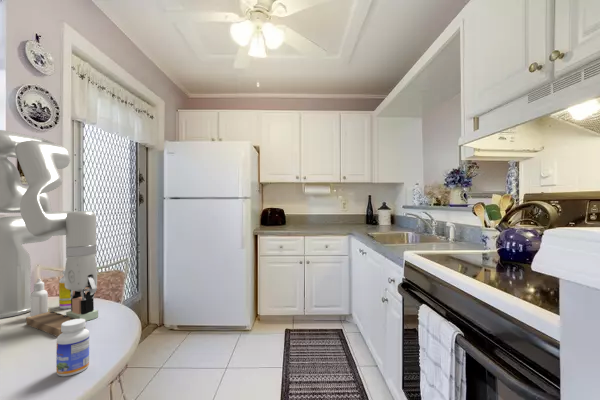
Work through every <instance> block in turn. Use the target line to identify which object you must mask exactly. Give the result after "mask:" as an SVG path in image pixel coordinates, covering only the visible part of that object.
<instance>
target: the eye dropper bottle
mask: <svg viewBox="0 0 600 400" xmlns="http://www.w3.org/2000/svg"><path fill="white" fill-rule="evenodd" d="M46 312H49V294H48V291H47V290H46V289H45V281H44V282H43V281H42V279H41V278H40V277H39V278H37V281H36V282H35V283H33V291H32V292H31V311H30V317H31V316H35V315H39V314H42V313H46Z"/></svg>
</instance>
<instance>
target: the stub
mask: <svg viewBox="0 0 600 400" xmlns="http://www.w3.org/2000/svg"><path fill="white" fill-rule="evenodd" d="M81 301H82V297H78V298H74V299H72V311H71V310H69V311H66V312H65V315H66V316H69V317H73V318H76V319H85V322H88V321H90V320H95V319H97V318H99V310H97V309H94V310H93V312H89V313H86V314H81Z"/></svg>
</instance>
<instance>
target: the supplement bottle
mask: <svg viewBox="0 0 600 400" xmlns="http://www.w3.org/2000/svg"><path fill="white" fill-rule="evenodd" d="M62 274H63V276H62V277H60V278H59V280H58V287H59V288H58V293H59V294H58V296H59V297H58V305H59V309H61V310H68V309H71V297H70V295H71V292H70V290H69V289H66V288H65V269H63V270H62Z"/></svg>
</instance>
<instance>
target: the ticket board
mask: <svg viewBox="0 0 600 400" xmlns="http://www.w3.org/2000/svg"><path fill="white" fill-rule="evenodd" d="M73 319H76V318H73V317H69V316H66V314H62V313H59V312H55V311H52V310H51V311H48V312H46V313H42V314H39V315H35V316H31V315H30V316H27V317H26V319H25V320H26V325H27V326H29V327H32V328H34V329H37V330H40V331H42V332H45V333H47V334H50V335H52V336H55V337H58V336H59V335H60V334H62V333H63V332H61V324H62V323H64V322H66V321H69V320H73ZM84 329H86V327H85V328H84Z"/></svg>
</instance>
